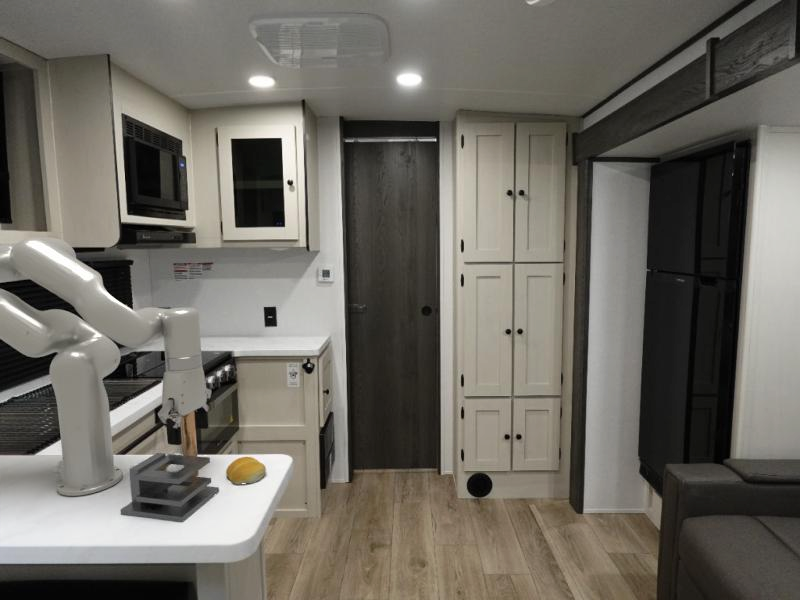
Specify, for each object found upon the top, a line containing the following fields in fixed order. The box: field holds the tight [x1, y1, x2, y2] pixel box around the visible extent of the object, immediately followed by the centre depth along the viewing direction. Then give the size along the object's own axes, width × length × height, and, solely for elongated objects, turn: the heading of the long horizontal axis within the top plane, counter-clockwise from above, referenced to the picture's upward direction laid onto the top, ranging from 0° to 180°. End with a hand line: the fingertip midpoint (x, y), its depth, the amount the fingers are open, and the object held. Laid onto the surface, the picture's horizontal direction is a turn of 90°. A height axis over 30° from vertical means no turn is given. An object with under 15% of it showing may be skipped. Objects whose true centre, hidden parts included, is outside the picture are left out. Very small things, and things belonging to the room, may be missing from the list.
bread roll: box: [225, 456, 267, 485], centre depth 114 cm, size 8×9×4 cm
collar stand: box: [120, 452, 220, 523], centre depth 103 cm, size 14×12×8 cm
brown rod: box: [180, 411, 199, 477], centre depth 114 cm, size 3×3×20 cm
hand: (189, 435), depth 115 cm, fingers open, 9 cm apart
